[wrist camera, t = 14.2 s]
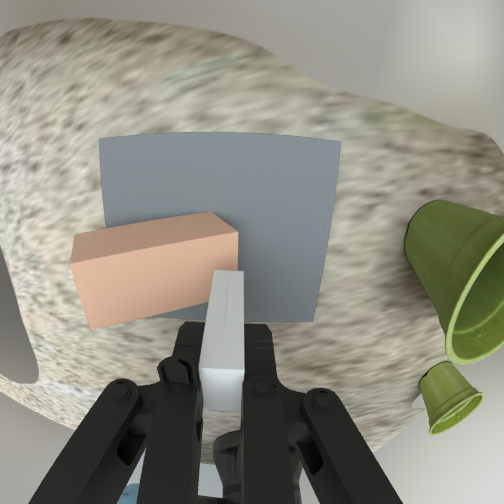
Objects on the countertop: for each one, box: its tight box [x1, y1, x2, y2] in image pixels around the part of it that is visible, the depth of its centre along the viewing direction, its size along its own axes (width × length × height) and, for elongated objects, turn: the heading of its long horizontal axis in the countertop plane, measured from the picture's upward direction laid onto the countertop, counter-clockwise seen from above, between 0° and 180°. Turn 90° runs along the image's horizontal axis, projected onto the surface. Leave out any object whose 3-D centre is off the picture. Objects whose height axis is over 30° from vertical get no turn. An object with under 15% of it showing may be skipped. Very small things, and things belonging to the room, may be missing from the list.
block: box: [70, 211, 238, 330], centre depth 17 cm, size 4×4×10 cm
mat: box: [99, 132, 341, 322], centre depth 22 cm, size 16×18×1 cm
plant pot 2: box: [419, 362, 484, 435], centre depth 29 cm, size 9×9×9 cm
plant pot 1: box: [405, 200, 504, 365], centre depth 17 cm, size 12×12×11 cm
